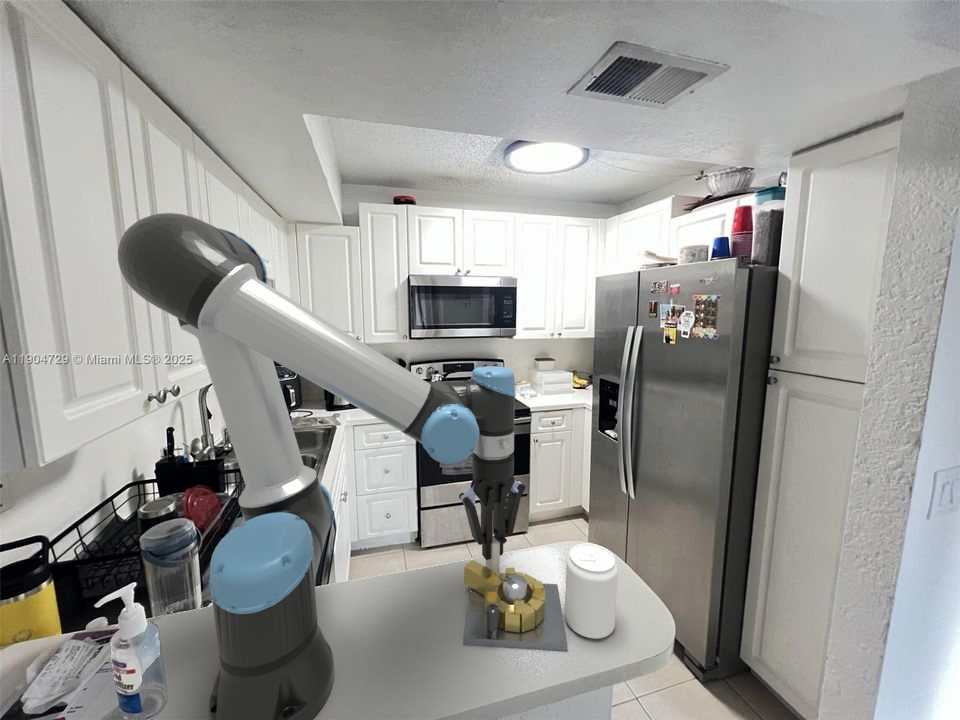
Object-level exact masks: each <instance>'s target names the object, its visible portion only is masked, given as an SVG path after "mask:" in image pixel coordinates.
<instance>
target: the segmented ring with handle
mask: <svg viewBox="0 0 960 720" xmlns="http://www.w3.org/2000/svg"><path fill="white" fill-rule="evenodd" d="M511 574H517V575H521V576H523V577H524V578H525V579H526V581H527V599H528V600H529V602H528V603H526V604H524V600H520V601H514V605H509V604H507V603H505V602H503V601H502V600H500V599H501V598H503V580H504V578H505V577H506V576H508V575H511ZM463 579H464V580H463V584H464V585H466V586H467V587H468V588H470V589H471V588H472V589H473V590H475V591H477V592H478V593H480V594H482V595H483V596H485V612H486V608H487V606H488V605H490V604H495V605H497V606H498V607H499V628H501V629H504V628H505V631H512V632H520V630H521V632H524V631H527V630H530V629H533V628H535V626H536V627H537V626H538V624H539V623H540V622H541V621H542V620H543V618H544V607H545V590H544V587H543V584H542V583H543V581H541V580H540V581H539V580H537V578H535V577H533V576H532V575H530V574H528V573H524V572H520V571H519V572H518V571H516V569H515V567H506V568H505V572H502V573H500V574H498V575H497V576H496V572H494V571H492V570H491V569H489V568H487V567H486V565H483V564H481V563H479V562H478V561H476V560H474V559H472V560H470V561H469V562H467V564H465V565H464V566H463Z"/></svg>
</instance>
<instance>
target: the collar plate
mask: <svg viewBox="0 0 960 720" xmlns="http://www.w3.org/2000/svg"><path fill="white" fill-rule="evenodd" d="M542 584H543V587H544V590H545V607H544V618H543V620H542V621H541V622H540V623H539V624H538V626H537V627H536V626H535V628H533V629H530V630H527V631H524V632H521V630H520V632H512V631H505V628H504V629H501V628H499V607H498V606H497V605H495V604H490V605H488V606H487V608H486V612H485V596H483V595H482V594H480V593H478V592H477V591H475V590H473V589H472V588H470V590H469V599H468V606H467V612H466V614H467V615H466V621H465V627H464V636H463V645H465V646H466V645H467V646H483V647H496V648H510V649H511V648H512V649H529V650H546V651H559V652H561V651H562V652H567V651H568V639H567V633H566V632H567V631H566V627H565V621H564V615H563V614H564V613H563V609H562V604H561V597H560V593H559V586H558V583H544V582H542ZM500 600H502V601H503V602H505V603H507V604H509V605H514V601H520V600H524V604H526V603H528V602H529V600H528V599H527V581H526V579H525V578H524V577H523V576H521V575H517V574H511V575H508V576H506V577H505V578H504V580H503V598H501V599H500Z"/></svg>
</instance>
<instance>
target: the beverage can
mask: <svg viewBox="0 0 960 720" xmlns="http://www.w3.org/2000/svg"><path fill="white" fill-rule="evenodd" d="M565 565H566V566H565V593H564V594H565V595H564V596H565V597H564V598H565V599H564V618H565V620H566V622H567V624H568V627H570V628H571V629H572V630H573V631H574V632H576V634H579V635H580V636H582V637H586V638H589V639H597V640H598V639H602V638H606V637H608V636H610V635H611V634H612V633H613V632H614V629H615V627H616V609H617V608H616V607H617V594H618V592H617V591H618V590H617V588H618V575H619V574H618V573H619V572H618V571H619V569H618V565H617V563H616V560H615V556H614V554H613V553H612V552H611V551H610V550H609V549H607V548H606V547H603V546H601V545H599V544H594V543H589V542H588V543H587V542H585V543H578V544H576V545H574V546H573V547H572V548H571V549H570V551H569V553H568V555H567V557H566V564H565Z"/></svg>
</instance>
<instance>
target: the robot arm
mask: <svg viewBox="0 0 960 720" xmlns="http://www.w3.org/2000/svg"><path fill="white" fill-rule="evenodd" d="M117 263H118V266H119V269H120V272H121V274H122V276H123V278H124V280H125V281H126V283H127V284H128V285H129V287H130V289H132V290H133V291H134V292H135V293H136V294H137V295H138V296H140V297H141V298H142V299H144V300H145V301H146V302H148V303H150V304H151V305H153V306H155V307H156V308H158V309H160V310H162V311H164V312H166V313H168V314H169V315H170V316H173V317H175V318H176V319H177V321H178V325H179V326H180V329H181V330H182V331H185V332H187V333H188V334H191V335H193V336H195V338H196V339H197V341H198V344H199V347H200V350H201V352H202V353H201V354H202V357H203V359H204V362H205V365H206V368H207V372H208V373H209V374H208V375H209V378H210V381H211V384H212V386H213V389H214V393H215V396H216V398H217V402H218V406H219V408H220V411H221V414H222V417H223V420H224V423H225V426H226V429H227V432H228V435H229V439H230V442H231V444H232V448H233V451H234V453H235V454H234V455H235V457H236V460H237V463H238V466H239V470H240V472H241V475H242V479H243V481H244V485H245V488H244V490H243V491H242V492H241V494H240V495H239V497H238V505H239V507H240V512H241V514H242V518H243V520H244V522H243V524H242V526H236V527H234V528H233V529H231V530H229V532H228V533H226V534H225V536H223V538H221V540H220V541H219V542H218V544H217V545H216V546H215V548H214V550H213V553H212V554H211V559H210V562H209V563H210V564H209V569H210V571H209V580H208V585H209V586H208V587H209V592H210V596H211V599H212V600H211V601H212V607H213V616H214V623H215V624H214V625H215V631H216V639H217V648H218V654H219V665H218V669H217V673H216V675H215V680H214V683H213V687H212V691H211V693H210V698H209V703H208V710H207V711H208V720H313V719H314V718H315V717H316V716H317V714H318V713H319V712H320V711H321V709H322V708H323V706H324V705H325V703H326V702H327V700H328V698H329V696H330V694H331V692H332V689H333V685H334V680H335V665H334V655H333V651H332V649H331V646H330V645H329V643H328V641H327V640H326V639H325V637H324V635H323V632H322V631H321V628H320V626H319V624H318V610H317V597H316V596H317V595H316V579H317V573H318V569H319V565H320V562H321V558H322V556H323V551H324V549H325V548H324V547H325V544H326V539H327V536H328V533H329V532H330V529H331V526H332V524H333V523H332V522H333V516H334V515H333V513H334V511H333V508H334V507H333V500H332V497H331V494H330V492H329V491H328V489H327V488H326V487H325V486H324V484H322V483H321V482H320V481H319V477H318V475H317V471H316V469H314V468H311V467H309V466H307V465H304V462H303V458H302V455H301V451H300V448H299V444H298V440H297V438H296V435H295V431H294V428H293V427H294V426H293V424H292V422H291V418H290V415H289V410H288V407H287V403H286V401H285V397H284V392H283V390H282V386H281V383H280V380H279V377H278V376H279V375H278V373H277V369H276V366H275V363H277V364H279V365H280V366H283V367H284V368H286V369H288V370H289V371H292V372H293V373H295V374H297V375H299V376H300V377H302V378H304V379H306V380H308V381H310V382H311V383H313V384H314V385H316V386H318V387H321V389H324V390H326V391H328V392H329V393H331V394H333V395H334V396H336V397H338V398H340V399H341V400H343V401H346V402H347V403H349V404H351V405H352V406H354V407H356V408H358V409H360V410H361V411H364V412H365V413H367V414H369V415H371V416H373V417H374V418H376V419H378V420H380V421H381V422H384V423H385V424H387V425H388V426H390V427H393V428H394V429H396V430H398V431H400V432H401V433H403V434H405V435H406V436H408V437H410V438H411V439H412V440H414V441H416V442H418V443H420V444H421V445H422V447H423V449H424V450H425V451H426V452H427V454H428V455H429V456H430V458H432V459H433V460H435V461H436V462H439V463H440V464H447V465H452V464H457V463H460V462H462V461H465V460H467V459H468V458H469V457H470V456H471V457H472V458H471V459H472V464H471V465H472V480H471V483H470V488H469V489H468V490H467V491H466V492H461V493H459V495H458V499H459V501H461V502H462V504H463V505H464V510H465V513H466V517H467V521H468V525H469V529H470V533H471V536H472V538H473V539H474V541H475V542H476V543H477V545H479V546H481V555H482V557H483V558H484V559H485V567H487V568H489V569H491V570H492V571H494V572H496V576H497V575H498V574H501V573H500V572H501V571H500V565H501V563H500V562H501V557H500V556H503V555H504V544H506V543H507V541H508V540H507V538H506V537H507V536H509V537H510V536H512V535H513V533H514V530H515V526H516V525H515V524H516V521H517V517H518V511H519V507H520V503H521V498H522V496H523V494H524V492H525V490H526V485H525V484H524V483H522V482H521V481H519V480H518V479H516V478H515V475H514V472H515V455H514V451H515V410H516V406H515V405H516V384H515V383H516V381H515V373H514V371H513V370H511V369H510V368H507V367H503V366H497V365H496V366H494V365H493V366H492V365H491V366H489V365H488V366H486V365H484V366H478V367H476V368H474V369H473V370H472V371H471V377H470V379H466V380H449V381H445V380H443V381H426V380H424V379H422V378H421V377H420V376H418V375H416V374H414V373H413V372H411V371H409V370H408V369H407V368H405V367H403V366H401V365H399V364H398V363H396V362H395V361H393V360H391V359H390V358H388V357H387V356H385V355H383V354H382V353H380V352H378V351H377V350H375V349H373V348H372V347H370V346H369V345H367V344H365V343H364V342H362V341H360V340H359V339H357V338H356V337H353V336H352V335H351V334H348V333H347V332H345V331H344V330H342V329H341V328H339V327H338V326H336V325H334V324H333V323H331V322H329V321H328V320H326V319H325V318H322V317H321V316H319V315H318V314H316V313H315V312H313V311H311V310H310V309H308V308H307V307H305V306H303V305H301V304H300V303H298V302H296V301H295V300H293V299H292V298H291V297H288V296H287V295H285V294H283V293H282V292H280V291H279V290H277V289H276V288H274V287H272V286H270V285H268V284H267V282H268V272H267V268H266V264H265V262H264V260H263V258H262V256H261V255H260V253H259V252H258V251H257V250H256V249H255V247H253V246H252V245H251V243H249V242H248V241H246V239H244V238H242V237H241V236H239V235H238V234H236V233H234V232H233V231H232V232H231V231H230V230H227V229H223V228H219V227H216V226H214V225H211V224H209V223H207V222H205V221H203V220H201V219H198V218H196V217H193V216H190V215H187V214H183V213H175V212H174V213H173V212H166V213H156V214H151V215H149V216H146V217H144V218H140V219H138V220H137V221H136V222H134V223H133V224H132V225H130V226H129V227H128V228H127V229H126V231H124V233H123V235H122V236H121V238H120V241H119V244H118V248H117ZM515 479H516V480H515ZM475 496H476V497H477V498H478V499H479V503H480V520H479V515H478V511H477V508H476V506H475V503H476V499H475V498H476V497H475Z"/></svg>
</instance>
